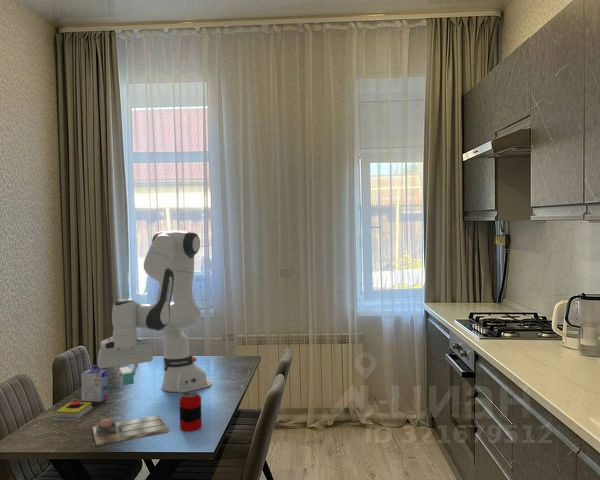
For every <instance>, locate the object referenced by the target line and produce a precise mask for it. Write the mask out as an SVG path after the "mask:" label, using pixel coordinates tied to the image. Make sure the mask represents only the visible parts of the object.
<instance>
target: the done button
mask: <svg viewBox="0 0 600 480" xmlns="http://www.w3.org/2000/svg"><path fill="white" fill-rule="evenodd" d="M112 421H113V419H112V418H102V419H100V421H99V424H100V429H101V428H107V427H112Z"/></svg>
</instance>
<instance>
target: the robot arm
mask: <svg viewBox="0 0 600 480" xmlns="http://www.w3.org/2000/svg"><path fill="white" fill-rule="evenodd" d="M200 247H201V239H200V237H199V235H198V234H197V233H195V232H192V231H184V230H183V231H182V230H170V231H165V230H163V231H157V232H156V233H155V234H154V235H153V237H152V240H151V244H150V246H149V248H148V251H147V252H146V253H147V254H146V256H145V259H144V260H143V261H144V262H143V270H144V271H145V273H146V274H147V276H149V278H151V279H153V280H154V281H156V282H158V283H159V284H158V285H159V287H158V292H157V297H156V298H157V299H156V301H155V303H153V304H149V303H148V304H145V303H140V302H138V301H135V299H134V298H132V297H124V298H119V299H117V300H115V301H114V303H113V304H112V312H111V324H112V326H113V330H112V336H110V337H107V338H105V339H104V340H102V341H100V347H101V348H99V351H98V355H97V365H98V367H97V368H100V369H107V368H113V369H114V371H115V372H116V375H117V378H120V377H122V372H119V367H120V366H122V367H123V366H128V365H133V368H132V369H131V371H132V373H133V376H136V371H137V370H138V367H139V364H141V363H142V364H143V363H149V362H150V363H151V362H152V361H153V359H154V355H153V349H152V348H153V346H154V342H153V339H151V338H149V337H145V338H138V337H137V336H138V333H137V332H138V331H137V329H146V330H147V329H149V330H153V331H160V333H161V335H162V339H163V351H164V355H163V356H164V357H163V362H162V363H163V365H162V367H163V377H162V384H161V390H163V391H165V392H172V393H178V394H179V393H180V394H181V393H183V394H184V393H188V392H191V391H196V390H200V389H205V388H209V387H212V381H211V379H209V378H208V377H207V374H206V372H205V370H204V369H203V368H202V367H201V366H199V365H197V364H196V363H195V362H197V357H195V356H192V355H190V339H189V336H188V335H186V334H185V332H184V331H183V329H182V328H192V327H196V326H197V325H198V324H199V322H200V321H201V317H202V313H201V309H200V307H198V305H197V303H196V301H195V299H194V295H193V284H194V275H195V274H194V273H195V255H197V254H198V252H199V250H200ZM172 297H173V301H172Z"/></svg>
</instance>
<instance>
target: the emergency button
mask: <svg viewBox="0 0 600 480" xmlns="http://www.w3.org/2000/svg"><path fill="white" fill-rule="evenodd" d="M93 409H94V407H93V406H92V401H70V402H68V403H67V404H65V405H64V406H62V407H60V408H59V409H57V410H56V413H55V415H56V416H55V417H54V418H53V419H52V421H59V422H60V421H62V422H64V421H65V422H76V421H78V420H79V419H81V417H83V416H84V415H86V414H87V413H88V412H90V411H91V410H93Z"/></svg>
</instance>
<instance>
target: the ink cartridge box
mask: <svg viewBox="0 0 600 480" xmlns="http://www.w3.org/2000/svg"><path fill="white" fill-rule="evenodd" d="M108 399H109V370H107V369H101V368H99V367H98V364H93V365H92V367H91V369H86V370H85V371H82V372H81V402H99V403H101V402H103V401H106V400H108Z"/></svg>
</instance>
